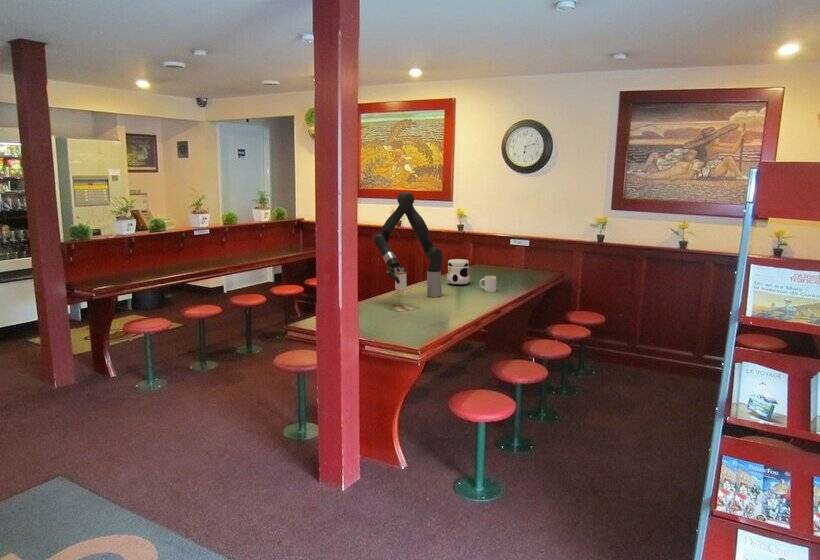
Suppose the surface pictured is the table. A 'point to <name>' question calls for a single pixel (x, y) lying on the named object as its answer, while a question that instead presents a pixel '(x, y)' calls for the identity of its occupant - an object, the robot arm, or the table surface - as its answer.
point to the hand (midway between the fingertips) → (402, 282)
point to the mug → (489, 283)
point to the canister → (401, 280)
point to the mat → (403, 308)
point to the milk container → (458, 272)
